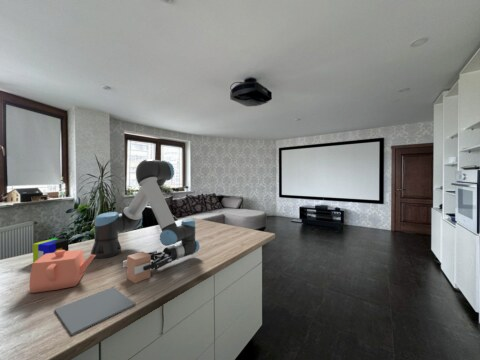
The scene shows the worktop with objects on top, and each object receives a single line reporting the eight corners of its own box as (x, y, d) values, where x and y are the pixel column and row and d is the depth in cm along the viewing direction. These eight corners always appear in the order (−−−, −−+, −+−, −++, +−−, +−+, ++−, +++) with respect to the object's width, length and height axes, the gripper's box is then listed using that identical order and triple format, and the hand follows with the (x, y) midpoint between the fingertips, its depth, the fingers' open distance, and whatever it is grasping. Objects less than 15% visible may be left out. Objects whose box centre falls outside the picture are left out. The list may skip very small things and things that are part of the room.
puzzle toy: (48, 265, 105) (48, 245, 105) (33, 263, 107) (33, 243, 107) (68, 257, 115) (68, 239, 115) (53, 256, 117) (54, 238, 117)
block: (127, 278, 93) (127, 255, 93) (142, 272, 98) (142, 251, 98) (134, 283, 88) (135, 259, 88) (150, 277, 94) (150, 255, 94)
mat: (54, 310, 70) (54, 308, 70) (113, 288, 84) (113, 286, 84) (71, 335, 59) (71, 333, 59) (135, 305, 73) (135, 303, 73)
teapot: (20, 302, 74) (20, 263, 74) (48, 275, 94) (48, 244, 94) (88, 291, 82) (88, 255, 82) (100, 268, 102) (100, 240, 102)
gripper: (187, 265, 101) (142, 284, 83) (160, 255, 114) (117, 269, 97) (187, 250, 101) (142, 265, 83) (161, 241, 114) (117, 252, 97)
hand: (129, 267), depth 90 cm, fingers open, 10 cm apart
